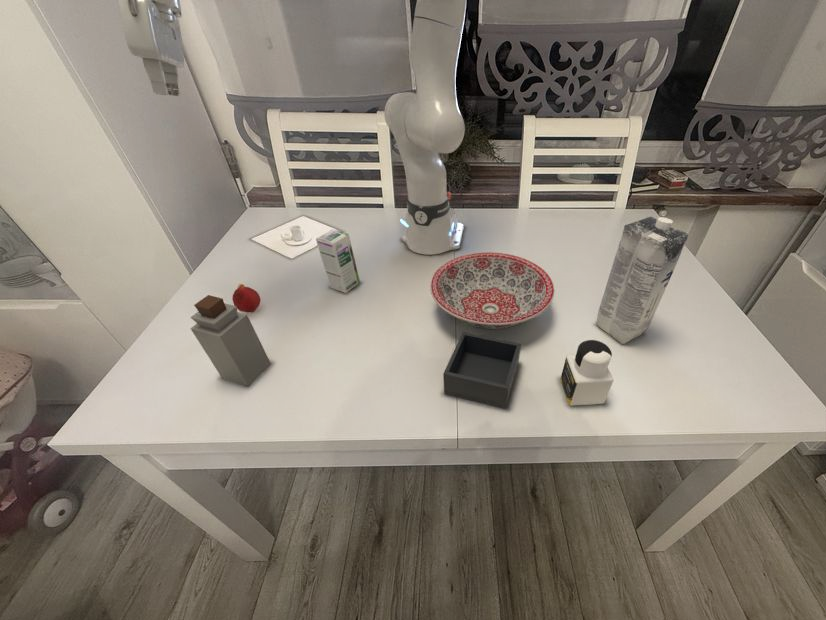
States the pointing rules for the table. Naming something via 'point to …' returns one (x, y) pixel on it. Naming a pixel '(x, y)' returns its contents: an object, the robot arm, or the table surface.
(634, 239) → the juice carton
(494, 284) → the ceramic bowl
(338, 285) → the syrup box
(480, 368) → the bin
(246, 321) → the perfume bottle
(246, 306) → the onion
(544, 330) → the table surface
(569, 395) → the medicine bottle
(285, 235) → the teacup and saucer
